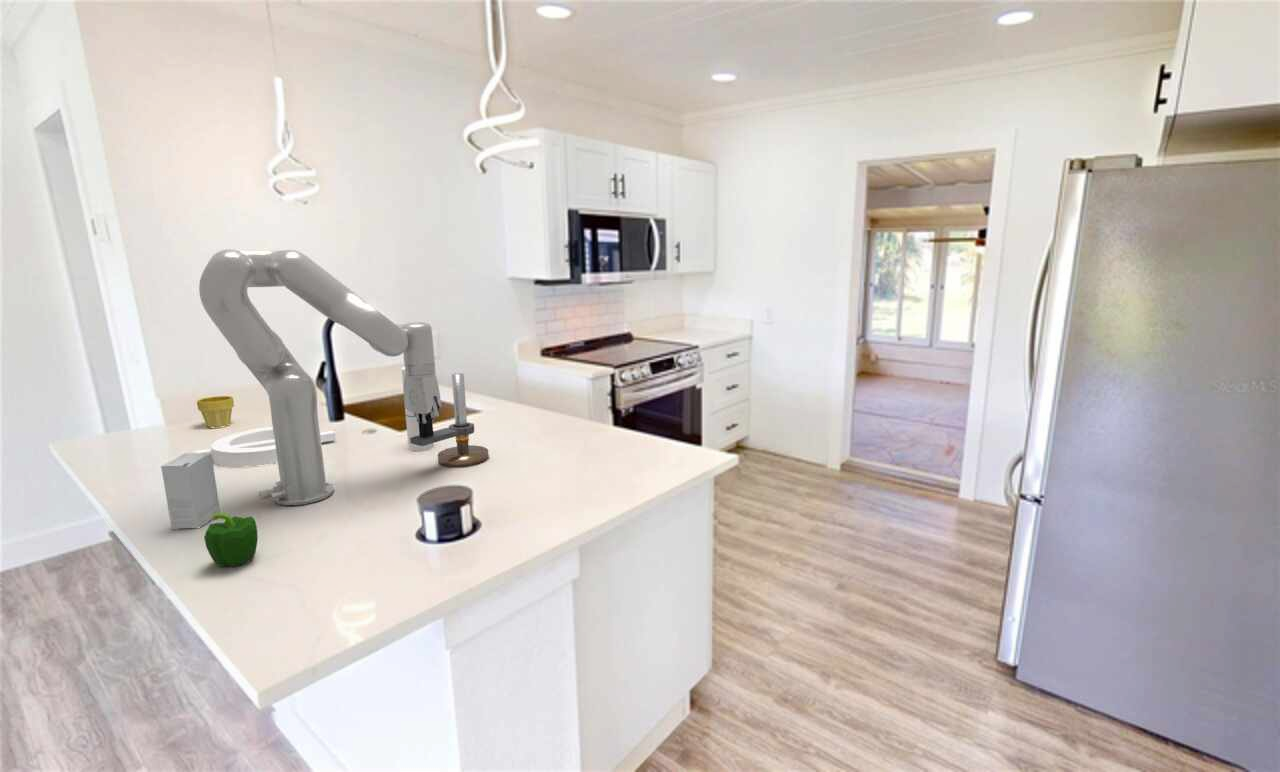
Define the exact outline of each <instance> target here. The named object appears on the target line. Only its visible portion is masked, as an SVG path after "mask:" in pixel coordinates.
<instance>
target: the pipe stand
mask: <svg viewBox="0 0 1280 772" xmlns="http://www.w3.org/2000/svg"><path fill="white" fill-rule="evenodd" d="M451 381H452V393H453V394H452V397H453V407H454V409H453V410H454V424H455V426H456V428H464V427H467V423H468V417H467V405H466V404H467V403H466V388H465V373H462V372H461V373H460V372H459V373H452V374H451ZM469 435H470V434H469ZM469 435H465V436H456V437H455V442H456V446H452V447H448V448H445V449H443V450H441V451H440V452H438V454H437V462H438V464H439V465H440V466H442V467H446V468H467V467H473V466H477V465H480V463H481V464H483V463H485V462H487V461H488V460H489V459H490V457H489V449H488V448H487V447H485V446H482V445H474V444H473V445H470V444H469V441H470V438H469ZM487 459H488V460H487Z"/></svg>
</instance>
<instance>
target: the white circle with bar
mask: <svg viewBox="0 0 1280 772" xmlns="http://www.w3.org/2000/svg"><path fill="white" fill-rule="evenodd" d="M320 437H321V445H322V443H325V442H332V441H333V442H334V441H336V433H335V431H334V430H329V431H320ZM194 453H211V454H212V461H213V463H214V462H215V463H216V464H215V463H214V464H215V465H217V464H219V465H218V466H220V465H223V466H222V467H225V466H229V467H228V468H244V467H243V466H256V467H258V466H257V465H265V464H271V463H277V462H278V460H277V453H276V446H275V438H274V432H273V426H266V427H259V428H253V429H249V430H244V431H240V432H236V433H232V434H229V435H226V436H224V437H221V438H218V439H216V440H215V441H214V442H212V444H211V445H210V448H207V449H206V448H205V449H199V450H195V451H194ZM277 464H278V463H277ZM265 466H266V465H265Z"/></svg>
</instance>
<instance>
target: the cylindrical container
mask: <svg viewBox="0 0 1280 772" xmlns="http://www.w3.org/2000/svg"><path fill="white" fill-rule="evenodd" d="M405 375H406V374H405V366H403V367H401V378H402V380H401V381H402V389H403V393H404V377H405ZM404 412H405V424H406V435H407V436H406V437H407V445H408V447H407V448H408V450H409V451H411V452H423V451H428V450H431V449H432V448H433V447H434V443H432V444H428V445H425V446H419V445H415V444H412V443H411V442H410V438H411V437H415V436H419V435H420V434H419V424H418V422H417V419H416V416H415V415H414V414H413V413H411V412H410V411H408V410H406V409H405V408H404Z"/></svg>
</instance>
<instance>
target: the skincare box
mask: <svg viewBox="0 0 1280 772" xmlns="http://www.w3.org/2000/svg"><path fill="white" fill-rule="evenodd" d="M160 468H161V473H162V481H163V485H164V491H165V496H166V503H167V511H168V516H169V521H170V527H171V529H172V530H179V529H178V528H198V527H201V526H202V525H203V526H205V525H206V524H208V523H209V522H210V521H211V520H213V519H212V516H213V515H215V514H221V508H220V501H219V495H218V488H217V483H216V475H215V469H214V461H213V460H212V454H211V453H195V452H185V453H182V454H181V455H179V456H177V457H176V458H174V459H172V460H171V461H168V462H167V463H164V464H162V465H161V466H160ZM209 520H210V521H209ZM208 521H209V522H208ZM205 523H206V524H205ZM204 524H205V525H204ZM203 526H202V527H203ZM202 527H201V528H202Z"/></svg>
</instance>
